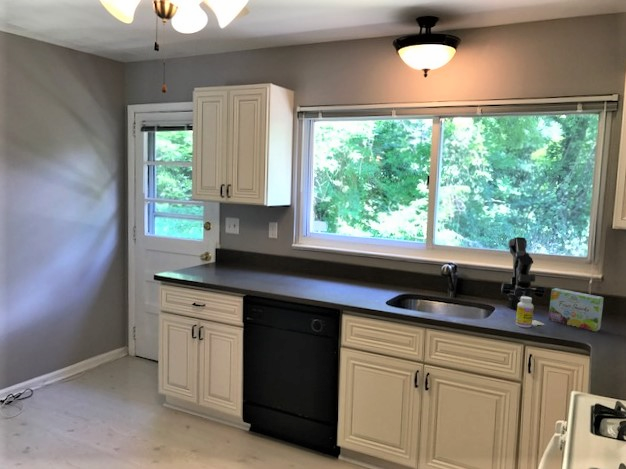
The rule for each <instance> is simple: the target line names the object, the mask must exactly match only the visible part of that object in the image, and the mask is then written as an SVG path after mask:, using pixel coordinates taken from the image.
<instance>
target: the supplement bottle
mask: <svg viewBox="0 0 626 469" xmlns="http://www.w3.org/2000/svg"><path fill="white" fill-rule="evenodd" d="M532 300H533V298H532V296H531V297H526V296H522V297H521V302H519V303H518V306H517V309H516V315H515V316H516V318H515V325H516V326H517V327H520V328H525V329H526V328H531V327H532V320H533V318H534V317H533V316H534V308H535V307H534V304H533V303H532Z"/></svg>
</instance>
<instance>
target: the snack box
mask: <svg viewBox="0 0 626 469" xmlns="http://www.w3.org/2000/svg"><path fill="white" fill-rule="evenodd" d="M603 308H604V297H603V296H598V295H593V294H588V293H583V292H578V291H573V290H568V289H563V288H558V287H554V288H551V292H550V301H549V310H548V322H549V321H550V322H554V321H555V322H556V323H558V322H559V324H562V323H563V324H562V325H566V324H567V326H570V325H572V327H574V326H576V327H575V328H579V327H580V328H579V329H583V328H584V329H583V330H587V329H588V331H591V330H592V331H591V332H596V333H597V332H598V331H600V330H601V325H602V324H601V323H602V315H603Z"/></svg>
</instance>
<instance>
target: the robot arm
mask: <svg viewBox="0 0 626 469" xmlns="http://www.w3.org/2000/svg"><path fill="white" fill-rule="evenodd" d="M527 246H528V240H526V237H522V236H521V237H520V236H516V237H514V238H510V239H509V240H508V248H509V253H510V254H511V255H512V274H513V275H512V277H511V280H510V282H503V283H502V284H501V290H500V293H501V294H502V295H507V296H508V301H507V305H506V307H507V308H509V309H512V310H517V306H518V303H519V302H521V297H522V296H526V297H531V298H532V293H534V297H536V298H544V297H545V294H546V293H547V292H546V287H545V286H544V285H536V286H535V287H534V288H533V287H531V286H532V285H531V284H532V283H535V282H536V274H530V270H531V268H532V265H533V264H534V261H533V260H534V259H533V258H532V257H531V256H530V253H529V252H527V250H526V249H527Z"/></svg>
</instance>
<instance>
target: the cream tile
mask: <svg viewBox="0 0 626 469" xmlns="http://www.w3.org/2000/svg"><path fill="white" fill-rule="evenodd" d="M532 325H533V327H537V325H541V326H546V325H545V323H543V322H540V321H538V320H535V319H534V320H533V319H532Z"/></svg>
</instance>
